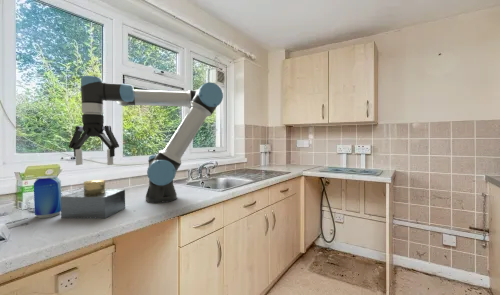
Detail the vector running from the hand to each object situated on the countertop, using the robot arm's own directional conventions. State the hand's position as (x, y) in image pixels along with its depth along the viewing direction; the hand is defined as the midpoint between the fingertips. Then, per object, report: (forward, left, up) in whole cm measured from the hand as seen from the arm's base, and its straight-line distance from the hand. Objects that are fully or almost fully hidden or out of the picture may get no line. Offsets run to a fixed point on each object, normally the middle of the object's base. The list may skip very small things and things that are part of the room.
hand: (94, 164), depth 100 cm
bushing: (0, 0, -20) cm, 20 cm away
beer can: (+17, +4, -21) cm, 27 cm away
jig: (0, 0, -21) cm, 21 cm away
